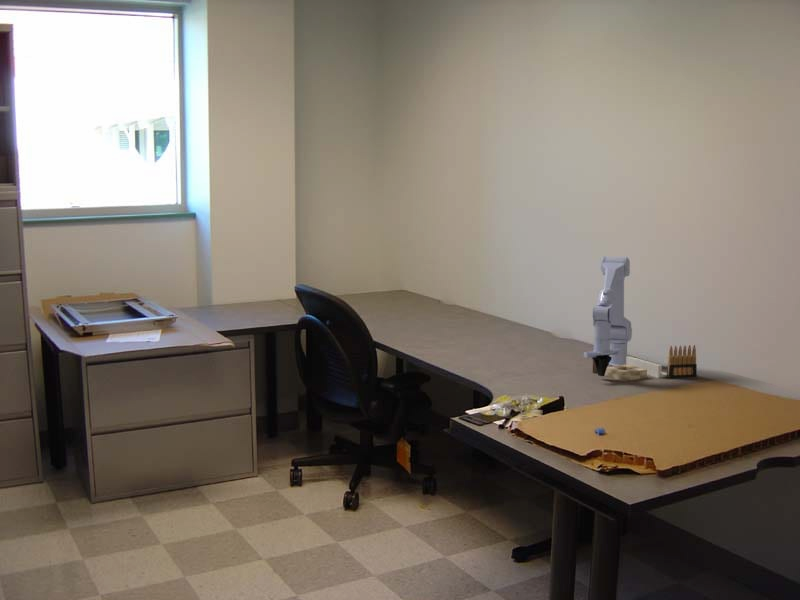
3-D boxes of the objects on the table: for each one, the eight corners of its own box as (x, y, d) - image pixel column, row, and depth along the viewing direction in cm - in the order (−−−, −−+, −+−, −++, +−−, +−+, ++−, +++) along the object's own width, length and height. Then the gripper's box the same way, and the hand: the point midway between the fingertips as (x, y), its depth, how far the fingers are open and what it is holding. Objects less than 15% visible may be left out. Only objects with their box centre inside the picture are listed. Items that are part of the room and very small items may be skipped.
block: (603, 374, 319) (603, 367, 318) (627, 371, 323) (627, 364, 323) (622, 381, 309) (622, 373, 308) (646, 377, 313) (647, 369, 313)
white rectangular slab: (626, 368, 329) (626, 356, 328) (637, 366, 331) (637, 355, 331) (658, 378, 313) (658, 365, 312) (670, 376, 315) (670, 364, 314)
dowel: (590, 372, 323) (591, 348, 322) (597, 371, 325) (597, 347, 323) (595, 373, 321) (596, 350, 319) (602, 372, 322) (602, 349, 321)
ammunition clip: (668, 378, 312) (669, 346, 310) (666, 377, 314) (667, 345, 312) (696, 377, 313) (698, 345, 311) (694, 376, 315) (695, 344, 313)
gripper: (592, 342, 303) (591, 380, 305) (625, 338, 309) (624, 375, 311) (580, 339, 309) (579, 376, 311) (613, 335, 315) (612, 371, 317)
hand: (601, 375), depth 311 cm, fingers closed
